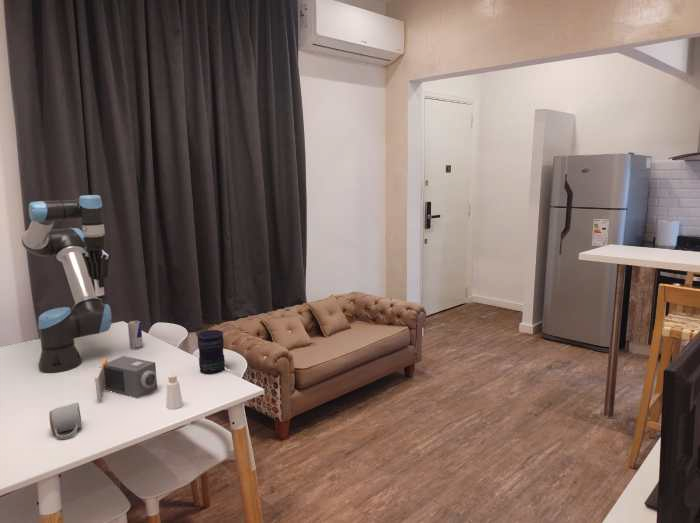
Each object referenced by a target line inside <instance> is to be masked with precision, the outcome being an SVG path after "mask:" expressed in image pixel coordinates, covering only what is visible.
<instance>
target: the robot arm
mask: <svg viewBox="0 0 700 523" xmlns="http://www.w3.org/2000/svg"><path fill="white" fill-rule="evenodd" d="M102 202H103V201H102V197H101V196H100V195H99V194H98V195H97V194H89V195H88V194H86V195H79V198H78V199H68V200H67V199H66V200H39V201H31V202H30V203H29V204H28V216H29V219H30V224H29V226H28V229H27V230H25V231H24V232H23V234H22V236H21V244H22V246H23V248H25V250H26V251H27V252H29V253H31V254H32V255H34V256H38V257H53V256H54V257H56V260H58V261H59V262H60V263H62V266H63V270H64V272H65V275H66V278H67V281H68V282H67V283H68V285H69V288H70V292H71V294H72V297H73V300H74V305H73V306H72V309H71V307H69V306H62V307H56V308H53V309H52V308H51V309H49V310H46V311H44V312H43V313H41V314H40V315H39V316H38V319H37V320H38V323H37V324H38V326H37V327H38V330H39V338H40V347H41V353H40V357H39V362H38V371H39V372H42V373H47V374H48V373H49V374H50V373H52V374H53V373H60V372H65V371H69V370H72V369H74V368H77V367H78V366H80V365H81V364H82V357H81V355H80V353H79V351H78V349H77V347H76V345H75V344H76V343H75V339H77V338H81V337H82V338H83V337H87V336H88V337H89V336H93V335H96V334H98V335H99V334H101V333H106V332H108V331H110V329H111V326H112V310H111V306H110V305H109V304H108V303H104V301H103V300H102V298H99V297H101V296H105V288H104V287H105V279H106V278H108V276H109V275H108V274H109V263H110V262H109V261H110V258H111V254H110V253H107V252H106V249H105V246H106V244H107V243H106V236H105V234H106V233H105V232H106V230H105V224H104V212H103V203H102ZM67 220H81V226H82V228H81V229H82V230H81V229H80V228H78V227H67V228H58V229H53V226H54V225H55V223H56V221H67ZM91 278H92V279H91ZM92 280H93V282H92Z"/></svg>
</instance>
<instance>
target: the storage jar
mask: <svg viewBox="0 0 700 523" xmlns="http://www.w3.org/2000/svg"><path fill="white" fill-rule="evenodd" d="M223 335H224V332H223V331H221V330H219V329H218V330H217V329H210V330H203V331H201V332H199V333H197V348H198V354H199V357H198V365H199V373H201V374H203V375H217V374H220V373H223V372H224V371H225V369H226V367H225V365H226V364H225V363H226V362H225V355H224V347H225V346H224V345H225V343H224V336H223Z"/></svg>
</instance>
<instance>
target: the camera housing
mask: <svg viewBox="0 0 700 523" xmlns="http://www.w3.org/2000/svg"><path fill="white" fill-rule="evenodd" d="M156 367H157V366H156V362H154V361H149V360H144V359H140V358H135V357H131V356H125V355H123V356H120V357H117V358H115V359H113V360H110V361H107V363H105V364H103V370H104V380H105V386H104V390H105V391H106V390H108V391H107V392H110V391H112V392H111V393H114V392H116V394H118V393H119V395H122V394H123V396H126V395H127V397H130V396H131V398H134V397H135V399H139V397H140V398H142V397H143V396H145V395H148V394H149V393H151V392H152V391H155V390H156V389H158V382H157V381H158V379H157V370H156ZM141 396H142V397H141Z"/></svg>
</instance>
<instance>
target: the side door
mask: <svg viewBox="0 0 700 523" xmlns="http://www.w3.org/2000/svg"><path fill="white" fill-rule="evenodd" d="M107 362H108V358H107V357H104V358H103V359H102V361H101V363H100V366H98V370H97V372H96V375H95V377H94V383H95V390H96V400H97V401H101V400H102V396H103V395H104V394H103V393H104V390H105V380H104V370H103V364H105V363H107Z"/></svg>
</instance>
